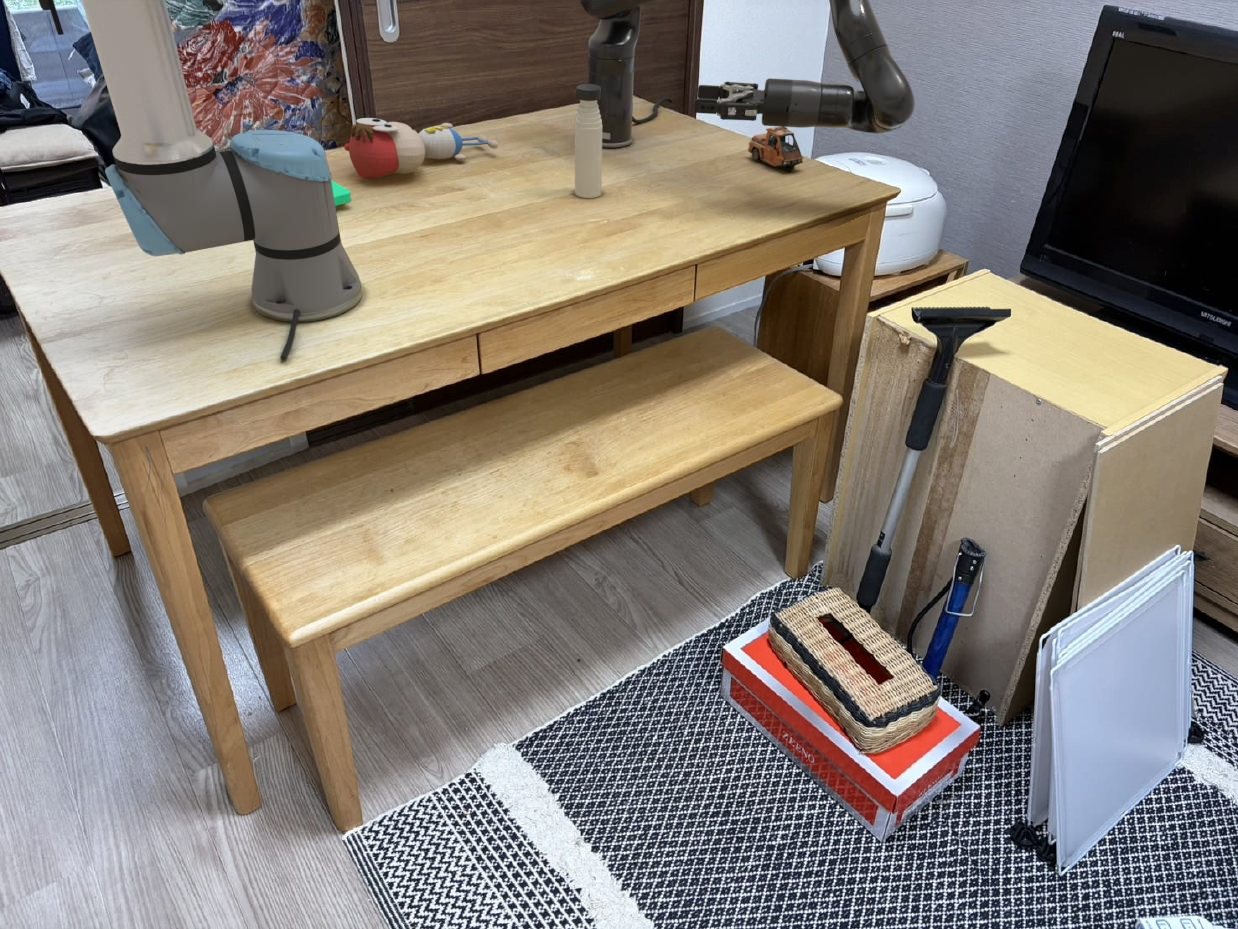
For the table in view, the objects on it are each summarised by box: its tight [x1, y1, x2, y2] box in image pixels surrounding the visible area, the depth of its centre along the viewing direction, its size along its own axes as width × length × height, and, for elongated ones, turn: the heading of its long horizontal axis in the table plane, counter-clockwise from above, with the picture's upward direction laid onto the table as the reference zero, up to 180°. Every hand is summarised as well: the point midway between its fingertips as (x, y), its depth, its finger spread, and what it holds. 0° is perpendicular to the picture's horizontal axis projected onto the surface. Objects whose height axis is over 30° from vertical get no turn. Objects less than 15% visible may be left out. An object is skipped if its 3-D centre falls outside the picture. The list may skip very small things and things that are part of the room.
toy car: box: [747, 126, 804, 172], centre depth 184 cm, size 6×12×7 cm, turn 39°
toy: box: [343, 117, 499, 180], centre depth 179 cm, size 18×10×30 cm
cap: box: [575, 83, 601, 101], centre depth 160 cm, size 4×4×2 cm
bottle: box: [574, 99, 603, 199], centre depth 166 cm, size 5×5×18 cm
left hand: (108, 29), depth 146 cm, fingers open, 13 cm apart
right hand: (696, 98), depth 159 cm, fingers open, 8 cm apart
